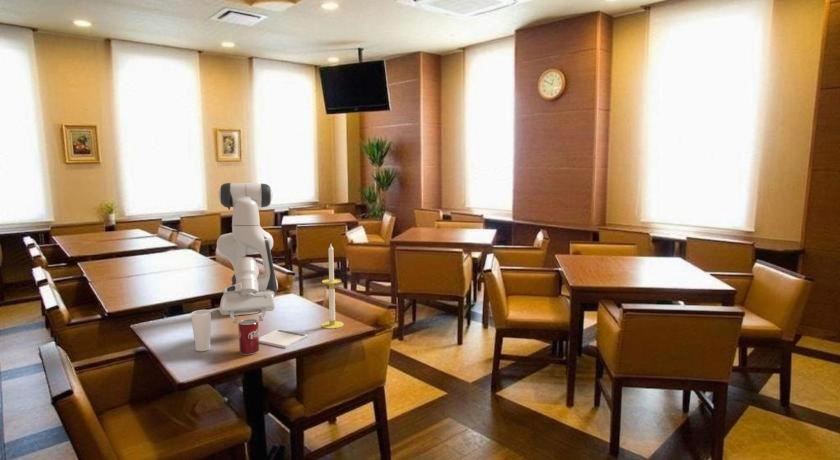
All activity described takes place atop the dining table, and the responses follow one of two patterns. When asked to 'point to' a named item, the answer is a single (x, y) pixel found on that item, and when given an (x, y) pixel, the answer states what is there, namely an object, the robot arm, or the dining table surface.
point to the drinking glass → (201, 329)
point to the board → (282, 338)
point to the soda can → (248, 336)
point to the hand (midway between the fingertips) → (248, 321)
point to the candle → (331, 294)
